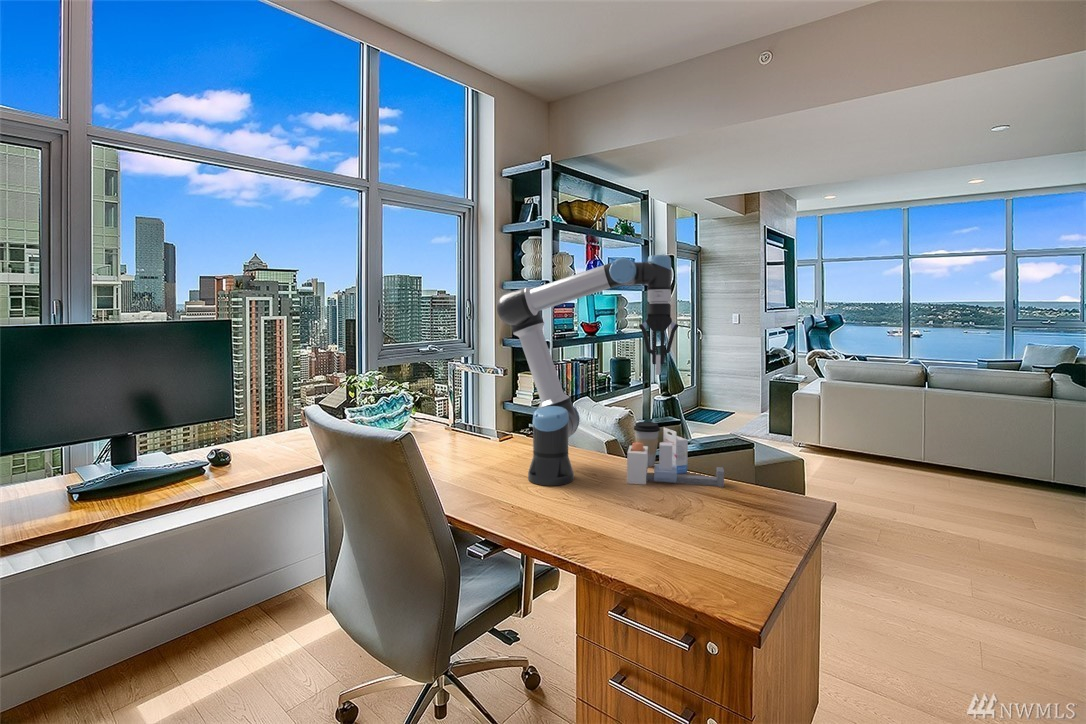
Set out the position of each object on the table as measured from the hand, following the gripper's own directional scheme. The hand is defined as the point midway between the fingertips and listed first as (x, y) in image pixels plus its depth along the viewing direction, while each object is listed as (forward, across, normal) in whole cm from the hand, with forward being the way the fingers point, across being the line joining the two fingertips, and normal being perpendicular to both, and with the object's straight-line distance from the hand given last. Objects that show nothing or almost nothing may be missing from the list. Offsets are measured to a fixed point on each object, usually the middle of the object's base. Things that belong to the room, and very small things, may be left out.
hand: (658, 374), depth 180 cm
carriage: (+34, +3, -6) cm, 35 cm away
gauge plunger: (+26, -6, -6) cm, 28 cm away
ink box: (+35, +6, +7) cm, 36 cm away
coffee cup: (+35, -4, +12) cm, 37 cm away
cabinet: (+34, -6, -6) cm, 35 cm away
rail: (+34, +8, -6) cm, 36 cm away
